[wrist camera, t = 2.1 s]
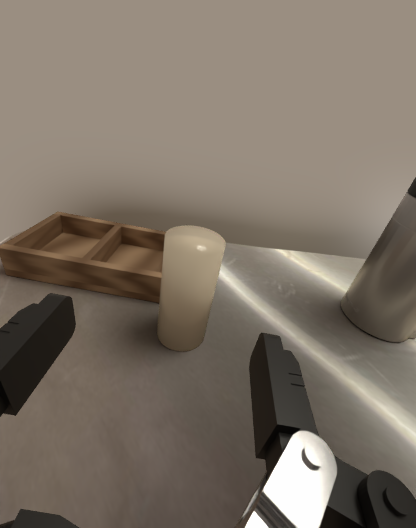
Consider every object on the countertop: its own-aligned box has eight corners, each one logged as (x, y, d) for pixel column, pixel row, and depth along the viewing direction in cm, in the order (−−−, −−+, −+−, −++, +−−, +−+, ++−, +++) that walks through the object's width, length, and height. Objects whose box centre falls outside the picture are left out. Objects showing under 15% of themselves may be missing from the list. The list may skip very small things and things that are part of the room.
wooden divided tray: (179, 256, 42) (182, 235, 40) (163, 303, 32) (165, 278, 30) (61, 234, 42) (57, 211, 39) (6, 275, 31) (-3, 247, 29)
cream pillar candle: (206, 318, 31) (226, 231, 24) (202, 355, 26) (224, 260, 20) (163, 311, 31) (171, 221, 24) (151, 346, 26) (157, 247, 20)
